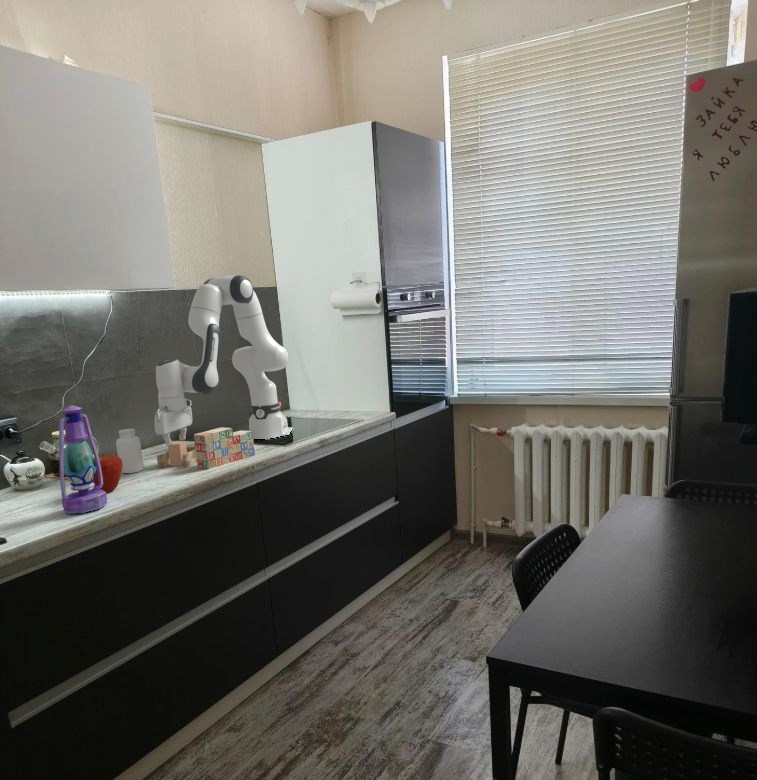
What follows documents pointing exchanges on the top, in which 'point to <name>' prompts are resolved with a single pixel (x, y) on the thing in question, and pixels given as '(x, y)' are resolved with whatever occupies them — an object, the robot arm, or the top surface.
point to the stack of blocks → (222, 447)
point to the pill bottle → (129, 451)
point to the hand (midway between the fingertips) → (176, 442)
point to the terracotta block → (177, 453)
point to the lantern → (79, 464)
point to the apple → (109, 472)
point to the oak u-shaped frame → (187, 458)
